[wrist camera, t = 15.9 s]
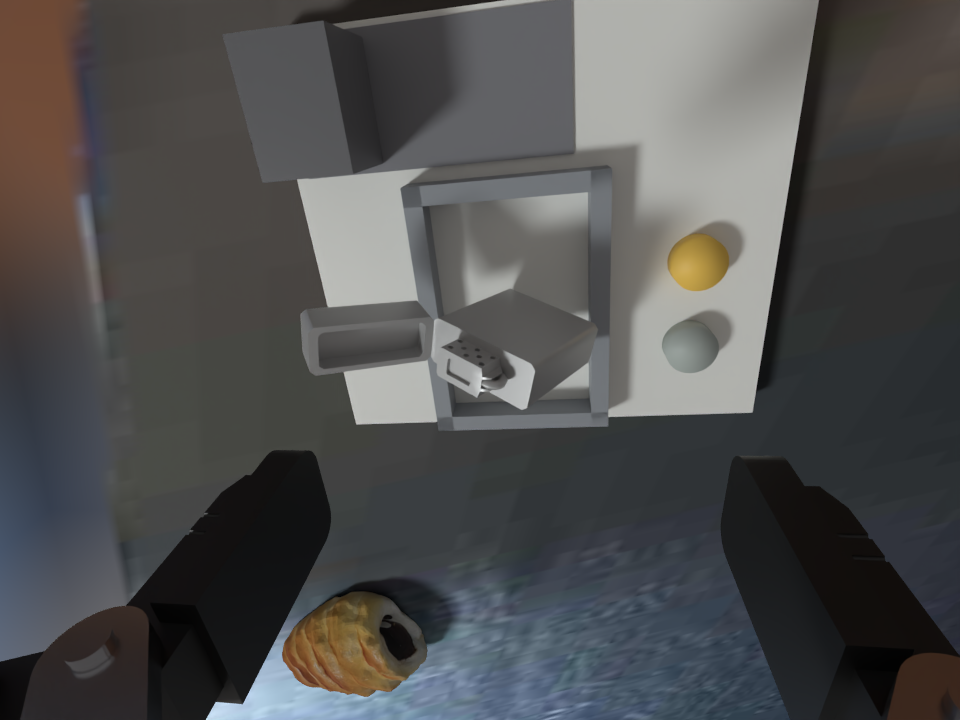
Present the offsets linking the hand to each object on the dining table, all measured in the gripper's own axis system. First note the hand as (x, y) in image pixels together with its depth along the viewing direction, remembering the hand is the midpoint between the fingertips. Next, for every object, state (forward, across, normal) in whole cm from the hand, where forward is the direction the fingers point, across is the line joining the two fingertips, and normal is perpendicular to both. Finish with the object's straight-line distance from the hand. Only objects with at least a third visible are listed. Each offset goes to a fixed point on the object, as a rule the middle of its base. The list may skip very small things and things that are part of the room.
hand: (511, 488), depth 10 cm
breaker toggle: (+12, +7, -7) cm, 15 cm away
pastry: (+13, +12, +23) cm, 29 cm away
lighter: (+12, 0, +1) cm, 12 cm away
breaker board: (+13, 0, -2) cm, 13 cm away
